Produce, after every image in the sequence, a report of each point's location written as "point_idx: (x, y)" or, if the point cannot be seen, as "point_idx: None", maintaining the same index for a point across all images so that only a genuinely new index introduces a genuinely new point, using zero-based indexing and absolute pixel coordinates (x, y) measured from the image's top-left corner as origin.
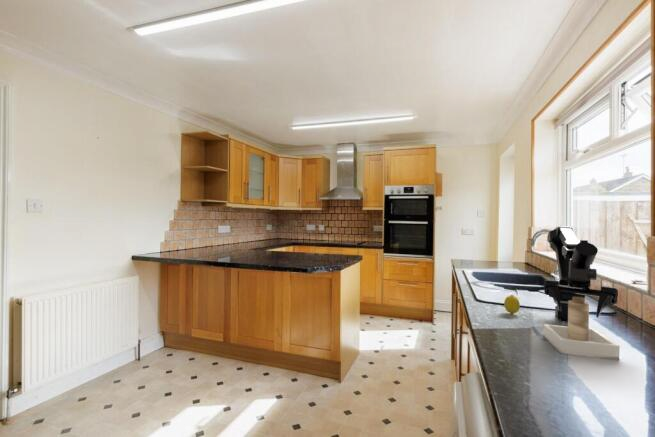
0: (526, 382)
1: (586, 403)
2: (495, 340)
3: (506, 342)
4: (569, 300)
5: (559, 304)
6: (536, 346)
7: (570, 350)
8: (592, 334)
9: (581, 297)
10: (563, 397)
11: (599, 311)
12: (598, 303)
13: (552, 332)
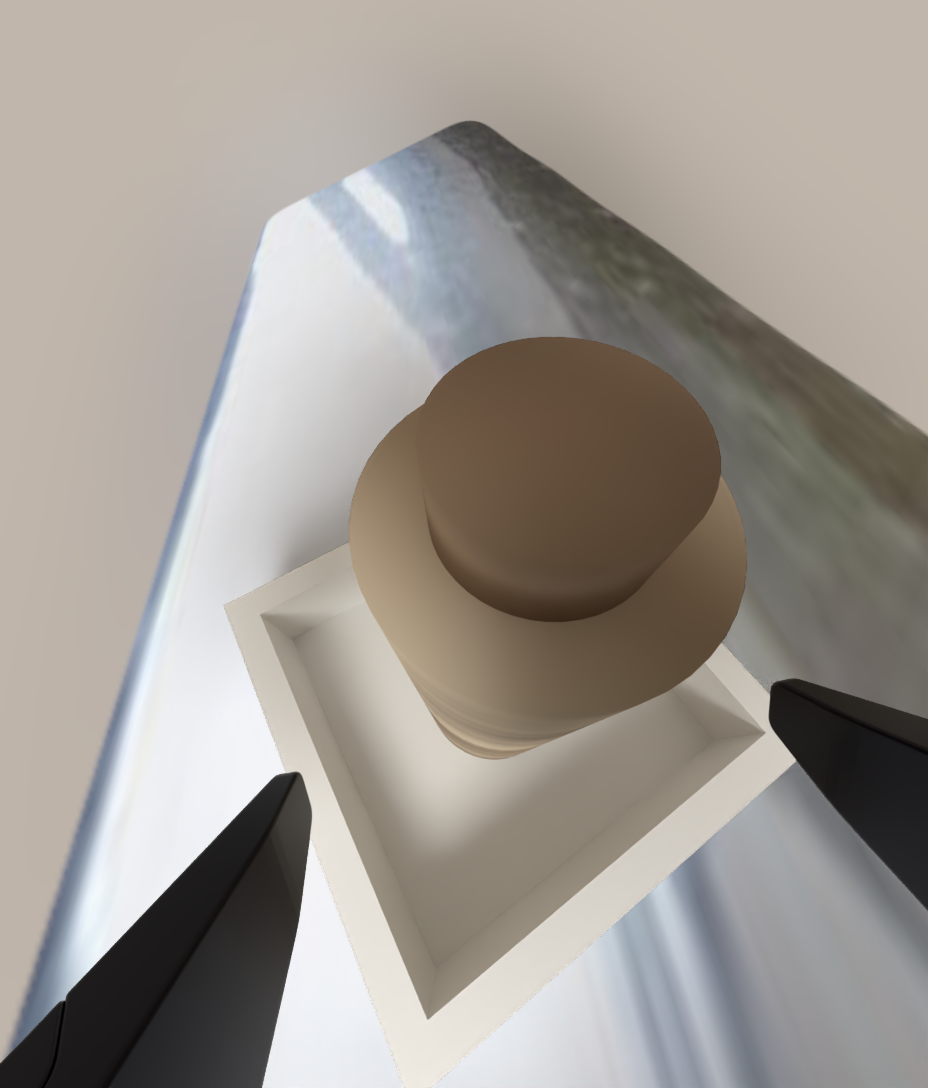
0: (518, 228)
1: (378, 230)
2: (810, 428)
3: (764, 442)
4: (738, 547)
5: (889, 720)
6: None
7: None
8: (420, 969)
9: (523, 544)
10: (426, 223)
11: (220, 836)
12: (99, 1066)
13: None
